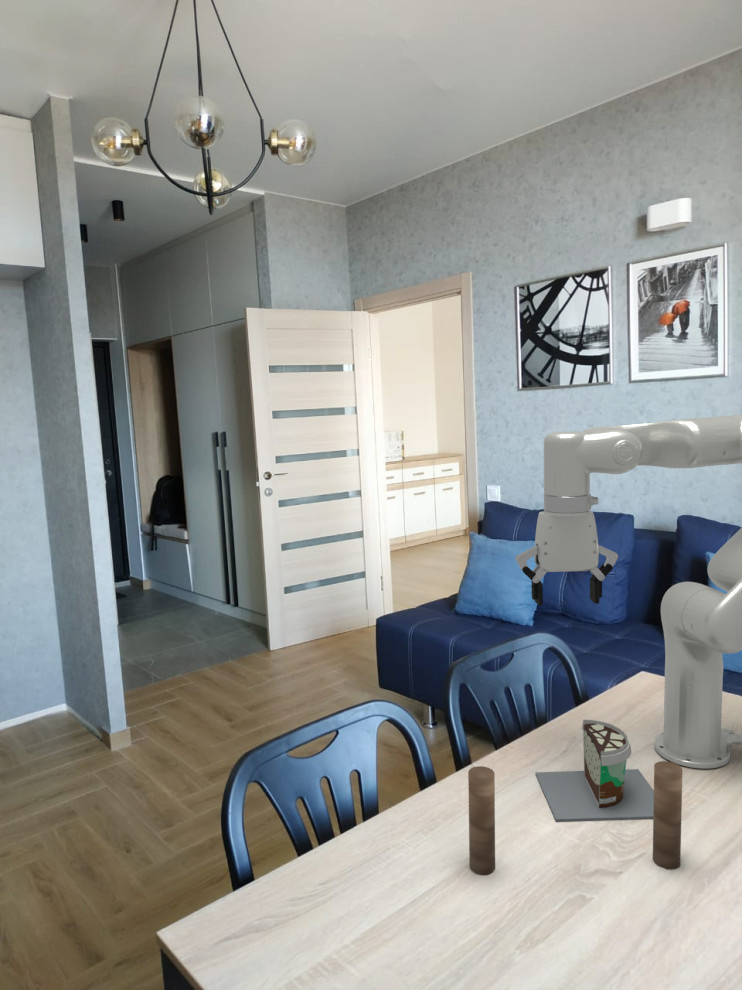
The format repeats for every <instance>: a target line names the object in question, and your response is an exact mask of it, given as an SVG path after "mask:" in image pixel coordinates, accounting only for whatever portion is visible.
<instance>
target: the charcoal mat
mask: <svg viewBox="0 0 742 990" xmlns="http://www.w3.org/2000/svg"><path fill="white" fill-rule="evenodd" d="M535 777H536V779H537V781H538V783H539V787H540V788H541V790H542V792H543V795H544V797H545V800H546V802H547V804H548V807H549V809H550V811H551V814H552V815H553V818H554V820H555V822H557V823H558V822H559V823H560V822H587V821H588V822H589V821H591V822H592V821H593V822H594V821H620V820H653V811H654V788H653V787H652V786H651V785H650V783H649V782H648V781H647V779H646V778H645V776H644V775H643V774H642V772H641V771H640V769H639V768H637V769H636V768H634V769H632V768H631V769H626V770H625V780H624V791H623V798H622V800H621V802H620V803H618V804H616V805H615V806H611V807H607V808H599V807H598V805H597V803H596V801H595V799H594V797H593V794H592V792H591V790H590V788H589V786H588V784H587V782H586V780H585V777H584V770H570V771H569V770H568V771H567V770H566V771H564V770H563V771H539V772H538V771H537V772H535Z"/></svg>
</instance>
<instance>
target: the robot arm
mask: <svg viewBox="0 0 742 990" xmlns="http://www.w3.org/2000/svg"><path fill="white" fill-rule="evenodd" d="M543 439H544V440H543V511H540V512H538V516H537V521H536V528H535V529H536V530H535V540H534V546H532V547H530V548H528V549H527V550H524V551H523V552H521V553H519V554H517V555H516V556H515V557H514V558H515V560H516V563H517V565H518V567H519V568H520V569H521V571H522V572H523V574H525V576H526V577H528V579H529V580H530V581H531V599H532V600H534V602H535V603H536V604H537V606H538V607H542V606H543V604H544V596H543V595H544V593H543V592H544V583H543V582H542V581H541V580H542V579H543V577H545V576H546V574H547V573H557V572H558V573H559V572H560V573H561V572H562V573H563V572H564V573H565V572H588V571H589V572H590V573H591V577H589V599H590V600H591V602H592V603H594V604H595V605H599V604H600V599H601V598H602V597H603V581H604V580H605V579H606V577H607V576H608V574H610V573H611V572H612V571H613V569H614V566H615V565H616V563H617V561H618V558H619V554H618V553H616V552H615V551H612V550H611V549H608V548H606V547H605V546H602V545H600V544H599V539H598V530H597V524H596V517H595V515H594V512H593V511H592V506H593V507H594V505H596V506H598V505H599V497H598V496H592V494H591V493H590V492H591V474H592V473H597V474H606V475H607V474H609V475H621V474H625V473H628V472H630V471H632V470H634V469H635V468H636V467H638V466H647V467H648V466H650V467H659V468H669V469H694V468H695V469H696V468H704V467H705V468H706V467H714V466H724V465H725V466H726V465H738V464H742V414H733V415H721V416H712V417H698V418H686V419H671V420H664V421H658V422H657V421H656V422H655V421H654V422H650V423H649V422H647V423H646V422H645V423H635V424H634V423H633V424H622V425H621V424H620V425H607V426H595V427H589V428H586V429H583V430H582V431H570V430H569V431H553V432H550V433H549V432H548V434H546V436H545V437H544V438H543ZM599 555H602V556H605V557H606V558H605V559H606V560H605V562H603V563H602V565H600V567H598V566H599V560H600V559H599V557H600V556H599ZM533 557H534V563H535V565H536V566H535V567H534V568H533V569H531V568H530V567H529V565H528V564H527V561H528V560H530V559H532V558H533ZM707 574H708V578H709V579H710V581H711V582H712V583H713V584H714V585H715V586H716V587H717V588H719V589H722V590H723V591H725V592H726V593H724V592H722V591H720V590H717V589H716V588H713V587H710V586H708V585H705V584H703V583H700V582H694V581H682V582H678V583H675V584H673V585H672V586H671V587H669V588H668V589H667V591H665V593H664V595H663V596H662V600H661V603H660V619H661V620H660V621H661V625H662V630H663V636H664V637H663V638H664V652H665V654H664V655H665V658H664V659H665V660H664V663H665V664H664V694H663V696H664V700H663V701H664V703H663V704H664V705H663V707H664V708H663V732H662V733H659V734H658V735H657V736H656V737H655V739H654V744H653V745H654V746H653V747H654V749H655V751H656V753H658V755H659V756H661V757H662V758H664V759H665V760H667V761H668V762H673V763H675V764H678V765H679V766H683V767H687V768H692V769H702V770H703V769H704V770H705V769H706V770H709V769H710V770H711V769H717V768H721V767H723V766H725V765H727V764H728V763H729V762H730V759H731V753H730V747H732V745H737V746H738V745H739V746H742V733H735V731H734V729H733V728H725V729H722V719H723V718H722V715H723V713H722V710H723V708H722V707H723V682H724V681H723V679H724V678H723V677H724V676H723V675H724V658H723V654H729V655H730V654H736V653H738V652H741V651H742V527H740V529H738V531H737V532H736V533H734V535H733V536H731V537H730V538H729V540H727V542H725V543H724V544H723V545H722V546H721V547H720V548H719V549H718V550H717V551H716V552H715V554H714V555H713V556H712V558H710V561H709V562H708V565H707Z"/></svg>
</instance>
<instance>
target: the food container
mask: <svg viewBox="0 0 742 990" xmlns="http://www.w3.org/2000/svg"><path fill="white" fill-rule="evenodd" d="M581 729H582V732H583V733H582V735H583V738H582V739H583V771H584V777H585V780H586V782H587V784H588V786H589V788H590V790H591V792H592V794H593V797H594V799H595V801H596V803H597V805H598V807H599V808H607V807H611V806H615V805H616V804H618V803H620V802H621V800H622V798H623V791H624V780H625V770H627V769H626V767H627V760H628V759H629V758H630V757H631V755H632V748H631V743H630V739H629V738H628V736H627V734H626V733H625V731H623V730H622V729H621V728H619V727H618V726H615V725H614V724H611V723H609V722H605V721H601V720H595V719H583V720H582V728H581Z"/></svg>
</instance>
